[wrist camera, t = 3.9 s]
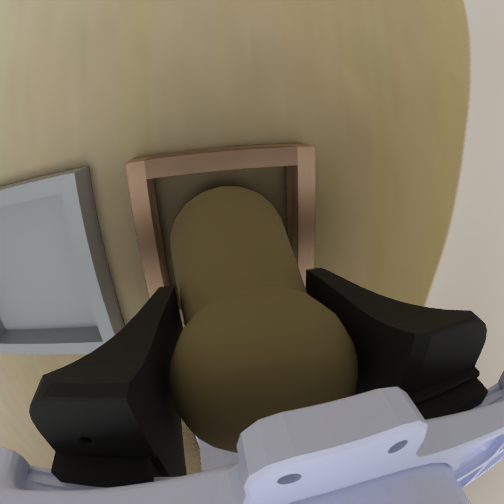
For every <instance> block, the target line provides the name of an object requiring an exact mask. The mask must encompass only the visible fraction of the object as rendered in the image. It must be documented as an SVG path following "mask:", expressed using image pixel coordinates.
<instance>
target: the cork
mask: <svg viewBox="0 0 504 504" xmlns="http://www.w3.org/2000/svg"><path fill="white" fill-rule="evenodd" d="M170 248H171V257H172V262H173V268H174V273H175V279H176V284H177V289H178V295H179V300H180V305H181V309H182V314H183V319H184V324H185V327H184V328H183V330H182V332H181V334H180V337H179V339H178V342H177V344H176V347H175V350H174V353H173V356H172V359H171V362H170V378H169V379H170V385H171V392H172V398H173V401H174V404H175V407H176V410H177V413H178V414H179V416H180V417H181V418H182V420H183V421H184V422H185V424H186V425H187V426H188V427H189V429H190V430H191V431H192V432H193V433H194V434H195V435H196V436H197V438H199V439H200V440H202V441H204V442H205V443H207V444H209V445H211V446H212V447H215V448H218V449H222V450H226V451H230V452H235V453H238V451H237V443H238V440H239V437H240V434H241V432H243V431H244V430H245V429H247V428H248V427H249V426H251V425H252V424H253V423H255V422H256V421H257V420H259V419H261V418H264V417H268V416H271V415H274V414H277V413H280V412H284V411H289V410H294V409H299V408H304V407H309V406H313V405H317V404H322V403H326V402H330V401H334V400H338V399H342V398H346V397H350V396H353V395H354V394H355V392H356V386H357V380H358V358H357V354H356V350H355V346H354V343H353V341H352V340H351V338H350V336H349V334H348V333H347V331H346V329H345V327H344V326H343V324H342V323H341V321H340V320H339V318H338V317H337V315H336V314H335V313H334V312H332V311H331V310H330V309H328V308H327V307H325V306H324V305H323V304H321V303H320V302H318V301H317V300H315V299H314V298H313V297H311V296H310V295H308V294H307V292H306V289H305V286H304V283H303V280H302V277H301V274H300V271H299V268H298V265H297V262H296V259H295V256H294V253H293V250H292V247H291V245H290V242H289V239H288V236H287V233H286V230H285V227H284V224H283V222H282V219H281V217H280V215H279V214H278V212H277V211H276V209H275V207H274V206H273V204H272V203H271V202H269V201H268V200H267V199H266V198H264V197H263V196H262V195H260V194H259V193H257V192H255V191H252V190H249V189H246V188H243V187H236V186H220V187H217V188H214V189H210V190H207V191H204V192H202V193H200V194H199V195H197V196H196V197H194V198H193V199H191V200H190V201H189V202H187V203H186V204H185V206H184V207H183V208H182V210H181V211H180V212H179V214H178V215H177V216H176V218H175V221H174V224H173V227H172V230H171V233H170Z"/></svg>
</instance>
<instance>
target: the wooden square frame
mask: <svg viewBox="0 0 504 504" xmlns="http://www.w3.org/2000/svg"><path fill="white" fill-rule="evenodd" d="M275 166H286V190H287V236H288V239H289V242H290V245H291V247H292V250H293V253H294V256H295V259H296V262H297V265H298V268H299V271H300V274H301V277H302V280H303V283H304V286H305V288H306V270H307V269H314V248H315V146H311V145H307V144H303V143H285V144H263V145H247V146H233V147H221V148H210V149H200V150H190V151H181V152H173V153H165V154H158V155H150V156H143V157H137V158H134V159H132V160H130V161H129V162H127V163H126V171H127V178H128V185H129V192H130V199H131V205H132V211H133V217H134V223H135V229H136V234H137V240H138V245H139V250H140V255H141V260H142V265H143V270H144V275H145V279H146V284H147V288H148V293H149V297H150V298H151V296H152V295H153V294H154V293H155V291H156V290H157V289H158V288H159V287H165V286H170V281H169V276H168V270H167V265H166V259H165V253H164V247H163V241H162V235H161V229H160V222H159V215H158V208H157V201H156V194H155V186H154V178H160V177H167V176H176V175H184V174H193V173H202V172H212V171H223V170H234V169H246V168H260V167H275ZM176 295H177V301H178V306H179V311H180V316H181V321H182V323H184V319H183V314H182V309H181V305H180V300H179V295H178V290H176Z"/></svg>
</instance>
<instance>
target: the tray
mask: <svg viewBox="0 0 504 504" xmlns="http://www.w3.org/2000/svg"><path fill="white" fill-rule="evenodd" d="M124 327H125V325H124V321H123V318H122V315H121V311H120V308H119V305H118V301H117V298H116V294H115V290H114V287H113V283H112V279H111V275H110V272H109V268H108V264H107V259H106V255H105V251H104V247H103V242H102V238H101V233H100V228H99V223H98V218H97V213H96V208H95V202H94V197H93V191H92V185H91V178H90V172H89V166H85V167H80V168H75V169H71V170H66V171H61V172H57V173H52V174H48V175H44V176H40V177H35V178H31V179H27V180H24V181H20V182H16V183H12V184H9V185H5V186H1V187H0V354H89V353H91V352H92V351H94V350H95V349H97V348H98V347H100V346H101V345H103V344H104V343H106V342H107V341H108V340H110V339H111V338H112V337H113V336H114V335H116V334H117V333H118V332H119V331H120V330H121V329H123V328H124Z"/></svg>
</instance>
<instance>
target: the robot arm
mask: <svg viewBox="0 0 504 504" xmlns="http://www.w3.org/2000/svg"><path fill="white" fill-rule="evenodd" d="M305 289H306V292H307V294H308V295H310V296H311V297H313V298H314V299H315V300H317V301H318V302H320V303H321V304H323V305H324V306H325V307H327V308H328V309H330V310H331V311H332V312H334V313H335V314H336V315H337V317H338V318H339V320H340V321H341V323H342V324H343V326H344V327H345V329H346V331H347V333H348V334H349V336H350V338H351V340H352V341H353V343H354V346H355V350H356V354H357V358H358V380H357V386H356V392H355V394H354V395H353V396H350V397H346V398H342V399H338V400H334V401H330V402H326V403H322V404H317V405H313V406H309V407H304V408H299V409H294V410H289V411H284V412H280V413H277V414H274V415H271V416H268V417H264V418H261V419H259V420H257V421H256V422H255V423H253V424H252V425H251V426H249V427H248V428H247V429H245V430H244V431H243V432H241V434H240V437H239V440H238V443H237V451H238V453H235V452H230V451H226V450H222V449H218V448H215V447H212V446H211V445H209V444H207V443H205V442H204V441H202V440H200V439H199V438H197V436H196V435H195V436H196V439H197V442H198V444H199V447H200V458H201V470H202V472H198V473H194V474H189V475H187V473H186V466H185V457H184V448H183V437H182V425H181V417H180V416H179V414H178V413H177V410H176V407H175V404H174V401H173V398H172V392H171V385H170V379H169V378H170V362H171V359H172V356H173V353H174V350H175V347H176V344H177V342H178V339H179V337H180V334H181V332H182V330H183V325H182V321H181V316H180V311H179V306H178V301H177V295H176V290H175V285H174V286H165V287H159V288H158V289H157V290H156V291H155V293H154V294H153V295H152V296H151V298H150V299H149V300H148V301H147V303H146V304H145V305H144V306H143V307H142V309H141V310H140V311H139V312H138V313H137V314H136V315H135V316H134V317H133V318H132V319H131V320H130V322H129V323H128V324H127V325H126V326H125V327H124V328H123V329H121V330H120V331H119V332H118V333H117V334H116V335H114V336H113V337H112V338H111V339H110V340H108V341H107V342H106V343H104V344H103V345H101V346H100V347H98V348H97V349H95V350H94V351H92V352H91V353H89V354H88V355H86V356H84V357H82V358H81V359H79V360H77V361H75V362H73V363H71V364H69V365H67V366H65V367H62V368H60V369H57V370H55V371H53V372H50V373H48V374H45V375H43V377H42V379H41V381H40V383H39V385H38V388H37V390H36V392H35V395H34V397H33V400H32V402H31V405H30V410H29V413H30V417H31V419H32V421H33V423H34V424H35V426H36V428H37V429H38V430H39V432H40V433H41V434H42V436H43V437H44V438H45V439H46V441H47V442H48V443H49V444H50V445H51V447H52V448H53V449H54V450H55V451H56V452H55V456H54V460H53V465H52V469H48V468H42V467H37V466H31V465H29V464H28V462H27V461H26V460H25V459H24V457H23V456H21V455H20V454H19V453H17V452H16V451H14V450H11V449H7V448H3V447H0V504H471V503H470V501H469V500H468V498H467V496H466V495H465V493H464V491H463V490H462V488H463V487H465V486H466V485H468V484H469V483H471V482H472V481H473V480H475V479H476V478H478V477H479V476H480V475H482V474H483V473H484V472H485V471H487V470H488V469H490V468H491V467H492V466H493V465H495V464H496V463H497V462H498V461H500V460H501V459H502V458H503V457H504V371H503V373H502V375H501V377H500V379H499V382H498V383H497V384H496V385H494V386H492V387H490V388H489V389H486V388H485V387H484V386H483V384H482V383H481V382H480V381H479V380H478V379H477V377H478V376H479V371H478V370H477V369H476V368H475V364H476V362H477V360H478V357H479V355H480V353H481V350H482V348H483V346H484V343H485V340H486V332H487V329H486V325H485V323H484V322H483V321H482V320H481V319H480V318H479V317H477V316H476V315H475V314H474V313H473V312H472V311H463V310H461V311H460V310H443V309H435V308H428V307H422V306H417V305H412V304H408V303H404V302H400V301H397V300H394V299H391V298H388V297H384V296H382V295H379V294H376V293H374V292H372V291H369V290H367V289H365V288H362V287H360V286H358V285H356V284H354V283H352V282H350V281H348V280H346V279H344V278H342V277H340V276H338V275H336V274H334V273H332V272H330V271H327V270H325V269H323V268H315V269H307V270H306V288H305Z"/></svg>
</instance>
